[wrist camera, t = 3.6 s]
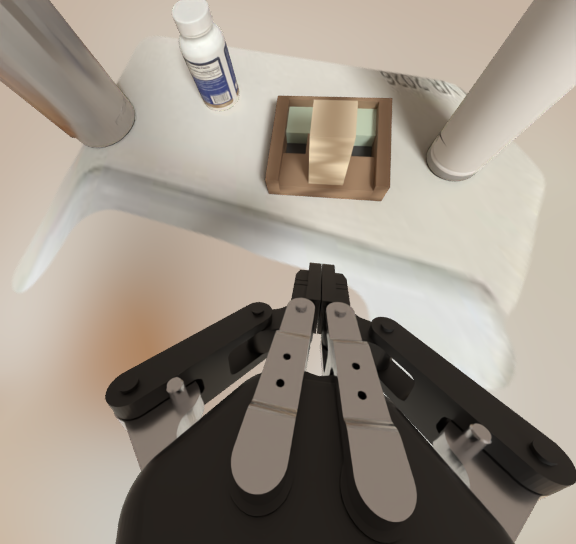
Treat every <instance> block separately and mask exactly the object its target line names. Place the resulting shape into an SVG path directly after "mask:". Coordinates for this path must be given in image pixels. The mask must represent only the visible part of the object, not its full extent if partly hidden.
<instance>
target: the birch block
mask: <svg viewBox="0 0 576 544" xmlns="http://www.w3.org/2000/svg"><path fill="white" fill-rule="evenodd" d="M357 109H358V101H348V100H314V103H313V112H312V121H311V129H310V145H309V183H310V184H327V185H343V183H344V179H345V175H346V172H347V168H348V164H349V161H350V157H351V154H352V150H353V146H354V143H355V139H356V125H357Z"/></svg>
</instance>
